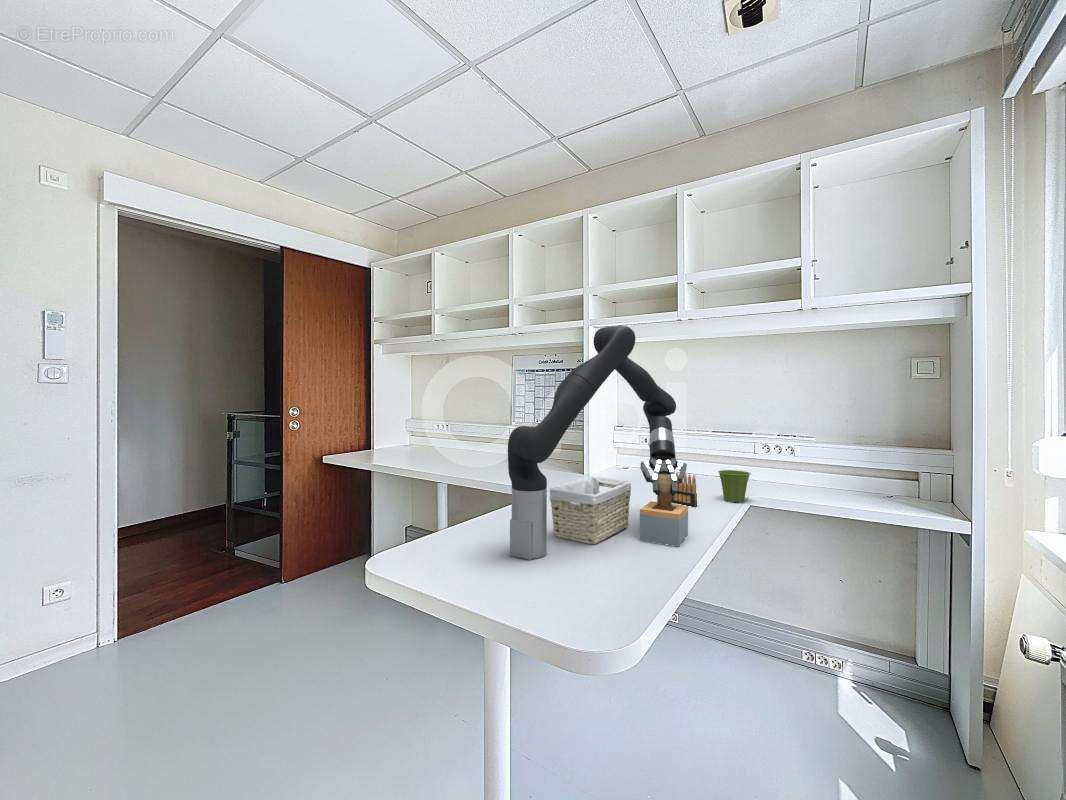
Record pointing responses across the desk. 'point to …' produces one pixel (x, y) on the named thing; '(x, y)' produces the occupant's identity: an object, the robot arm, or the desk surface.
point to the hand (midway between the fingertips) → (665, 493)
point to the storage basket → (590, 509)
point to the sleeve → (664, 524)
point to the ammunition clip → (686, 492)
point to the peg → (664, 490)
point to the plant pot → (734, 484)
